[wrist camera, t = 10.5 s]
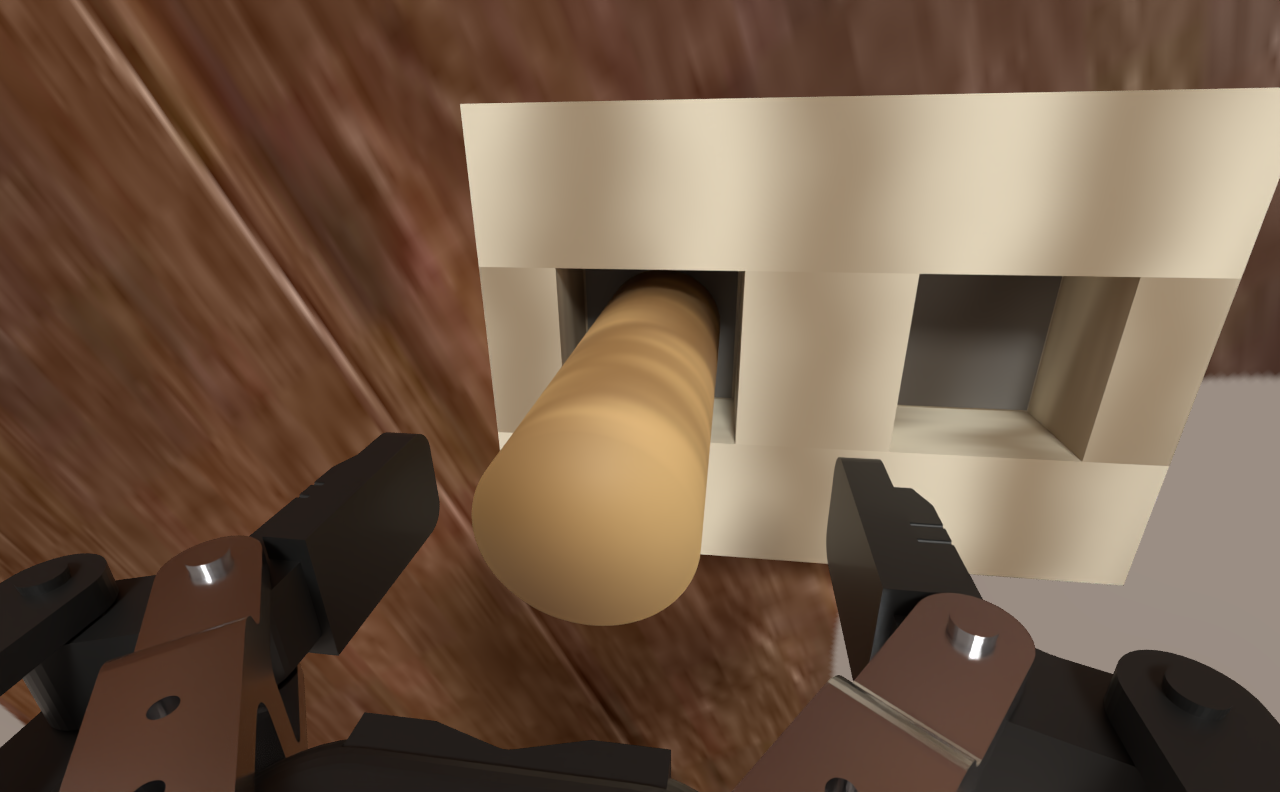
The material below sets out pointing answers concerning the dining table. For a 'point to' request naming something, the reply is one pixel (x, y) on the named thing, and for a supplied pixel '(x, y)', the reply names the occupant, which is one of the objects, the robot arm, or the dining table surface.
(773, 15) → the dining table surface
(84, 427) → the dining table surface
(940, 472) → the hole block
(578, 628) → the dining table surface
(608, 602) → the peg
